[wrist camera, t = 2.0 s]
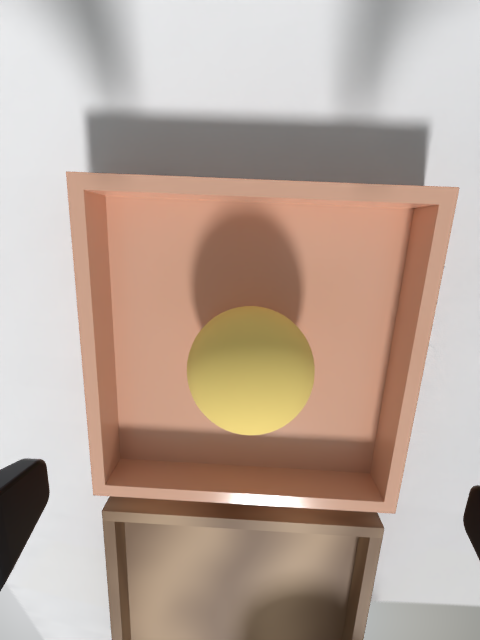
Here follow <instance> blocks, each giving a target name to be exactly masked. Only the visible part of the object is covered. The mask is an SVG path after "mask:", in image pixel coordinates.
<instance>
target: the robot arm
mask: <svg viewBox="0 0 480 640" xmlns="http://www.w3.org/2000/svg"><path fill="white" fill-rule="evenodd" d="M48 499H49V483H48V475H47V467H46V463H45V461H43V460H41V459H28V458H27V459H22V460H19V461H17V462H15V463H13V464H11V465H9V466H7V467H5V468H3V469H1V470H0V591H1V589H2V587H3V586H4V584H5V582H6V581H7V579H8V577H9V575H10V573H11V572H12V570H13V568H14V566H15V564H16V562H17V560H18V558H19V556H20V554H21V552H22V551H23V549H24V547H25V545H26V543H27V541H28V539H29V537H30V535H31V533H32V531H33V529H34V527H35V525H36V524H37V522H38V520H39V518H40V516H41V514H42V512H43V510H44V508H45V506H46V504H47V502H48ZM463 522H464V527H465V530H466V533H467V535H468V537H469V539H470V541H471V543H472V545H473V547H474V549H475V551H476V554H477V556H478V558H479V560H480V486H479V485H477V486H473V487H472V488H471V490H470V493H469V497H468V501H467V505H466V509H465V513H464V517H463Z"/></svg>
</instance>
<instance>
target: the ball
mask: <svg viewBox="0 0 480 640" xmlns="http://www.w3.org/2000/svg"><path fill="white" fill-rule="evenodd" d="M314 374H315V366H314V358H313V354H312V351H311V348H310V345H309V343H308V341H307V339H306V338H305V336H304V334H303V333H302V332H301V330H300V329H299V328H298V327H297V326H296V325H295V324H294V323H293V322H292V321H291V320H290V319H288V318H287V317H286V316H284V315H282V314H280V313H278V312H276V311H274V310H271V309H268V308H264V307H258V306H243V307H237V308H233V309H230V310H227V311H225V312H223V313H221V314H219V315H217V316H215V317H214V318H213V319H211V320H210V321H209V322H208V323H207V324H206V325H205V326H204V327H203V328H202V329H201V331H200V332H199V333H198V335H197V336H196V338H195V340H194V342H193V344H192V346H191V349H190V352H189V356H188V360H187V380H188V385H189V389H190V392H191V394H192V397H193V399H194V401H195V403H196V405H197V406H198V408H199V409H200V410H201V412H202V413H203V414H204V415H205V416H206V417H207V418H208V419H209V420H210V421H211V422H213V423H214V424H216V425H217V426H219V427H220V428H222V429H224V430H227V431H230V432H232V433H236V434H241V435H261V434H266V433H270V432H273V431H275V430H278V429H280V428H282V427H284V426H285V425H286V424H288V423H289V422H291V421H292V420H293V419H294V418H295V417H296V416H297V415H298V414H299V413H300V412H301V410H302V409H303V408H304V406H305V405H306V403H307V401H308V399H309V397H310V394H311V391H312V388H313V384H314Z"/></svg>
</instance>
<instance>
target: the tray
mask: <svg viewBox="0 0 480 640" xmlns="http://www.w3.org/2000/svg"><path fill="white" fill-rule="evenodd" d="M102 518H103V531H104V544H105V557H106V570H107V583H108V596H109V609H110V621H111V634H112V640H363V638H364V633H365V627H366V622H367V617H368V612H369V606H370V601H371V596H372V591H373V585H374V580H375V575H376V570H377V564H378V559H379V554H380V548H381V543H382V538H383V533H384V527H383V524H382V522H381V520H380V518H379V516H378V513H377V512H361V511H345V510H329V509H312V508H296V507H279V506H263V505H247V504H230V503H214V502H197V501H181V500H165V499H148V498H132V497H115V496H110V497H109V499H108V501H107V502H106V504H105V506H104V508H103V510H102Z"/></svg>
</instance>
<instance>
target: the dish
mask: <svg viewBox="0 0 480 640" xmlns="http://www.w3.org/2000/svg"><path fill="white" fill-rule="evenodd" d="M66 177H67V189H68V201H69V213H70V225H71V237H72V248H73V260H74V272H75V284H76V296H77V308H78V320H79V331H80V343H81V355H82V367H83V379H84V391H85V402H86V414H87V426H88V438H89V450H90V462H91V474H92V485H93V495H99V496H115V497H132V498H148V499H165V500H181V501H197V502H214V503H230V504H247V505H263V506H279V507H296V508H312V509H329V510H345V511H361V512H378V513H394V514H395V512H396V507H397V502H398V497H399V492H400V487H401V482H402V477H403V472H404V467H405V462H406V457H407V451H408V446H409V441H410V436H411V431H412V426H413V421H414V416H415V411H416V406H417V401H418V396H419V391H420V385H421V380H422V375H423V370H424V365H425V360H426V355H427V350H428V345H429V340H430V335H431V330H432V325H433V319H434V314H435V309H436V304H437V299H438V294H439V289H440V284H441V279H442V274H443V269H444V264H445V259H446V253H447V248H448V243H449V238H450V233H451V228H452V223H453V218H454V213H455V208H456V203H457V198H458V192H459V187H438V186H413V185H388V184H363V183H338V182H313V181H288V180H263V179H238V178H213V177H188V176H163V175H138V174H113V173H88V172H66ZM243 306H258V307H264V308H268V309H271V310H274V311H276V312H278V313H280V314H282V315H284V316H286V317H287V318H288V319H290V320H291V321H292V322H293V323H294V324H295V325H296V326H297V327H298V328H299V329H300V330H301V332H302V333H303V334H304V336H305V338H306V339H307V341H308V343H309V345H310V348H311V351H312V354H313V358H314V366H315V374H314V384H313V388H312V391H311V394H310V397H309V399H308V401H307V403H306V405H305V406H304V408H303V409H302V410H301V412H300V413H299V414H298V415H297V416H296V417H295V418H294V419H293V420H292V421H291V422H289V423H288V424H286V425H285V426H284V427H282V428H280V429H278V430H275V431H273V432H270V433H266V434H261V435H241V434H236V433H232V432H230V431H227V430H224V429H222V428H220V427H219V426H217V425H216V424H214V423H213V422H211V421H210V420H209V419H208V418H207V417H206V416H205V415H204V414H203V413H202V412H201V410H200V409H199V408H198V406H197V405H196V403H195V401H194V399H193V397H192V394H191V392H190V389H189V385H188V380H187V360H188V356H189V352H190V349H191V346H192V344H193V342H194V340H195V338H196V336H197V335H198V333H199V332H200V331H201V329H202V328H203V327H204V326H205V325H206V324H207V323H208V322H209V321H210V320H211V319H213V318H214V317H215V316H217V315H219V314H221V313H223V312H225V311H227V310H230V309H233V308H237V307H243Z"/></svg>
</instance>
